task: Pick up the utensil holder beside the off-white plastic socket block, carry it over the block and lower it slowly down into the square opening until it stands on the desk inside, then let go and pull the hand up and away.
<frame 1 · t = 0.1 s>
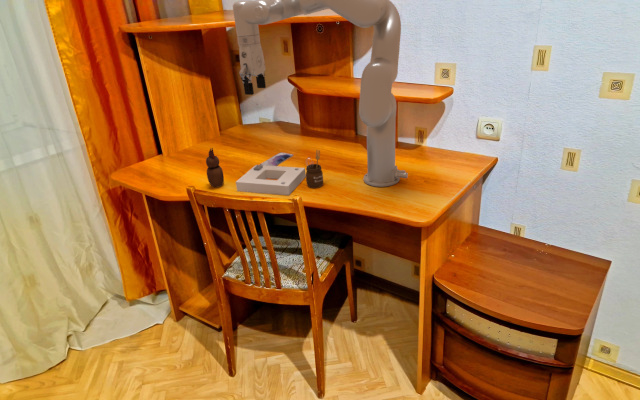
hand: (255, 91, 161), 31 cm above the table, tool pointing down, fingers open, 9 cm apart
smartphone: (277, 161, 186), on the table
socket block: (272, 183, 164), on the table
wooden figurine: (217, 185, 167), on the table
utensil holder: (315, 185, 161), on the table
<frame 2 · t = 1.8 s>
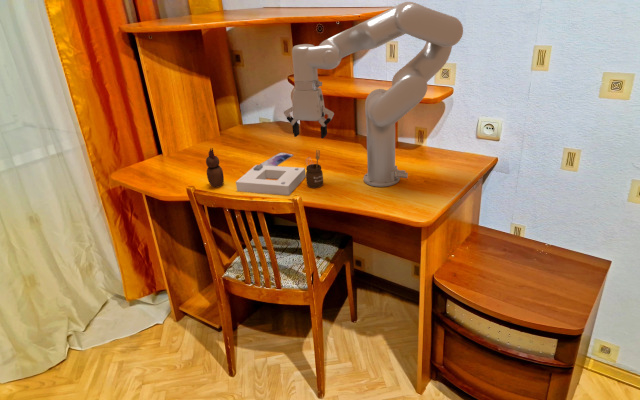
hand: (310, 136, 153), 18 cm above the table, tool pointing down, fingers open, 9 cm apart
nothing on the table moved.
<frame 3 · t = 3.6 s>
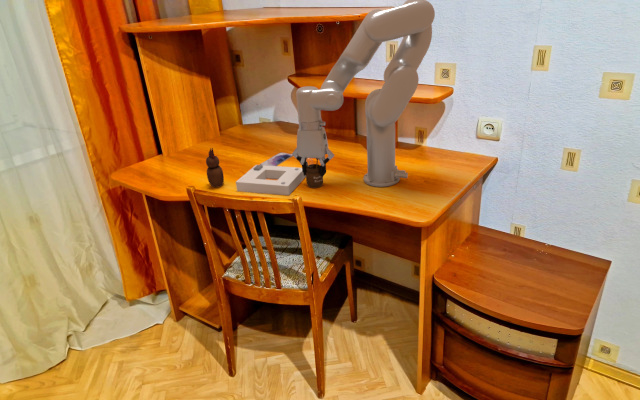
hand: (314, 174, 159), 4 cm above the table, tool pointing down, fingers closed on utensil holder, 5 cm apart
utensil holder: (315, 185, 161), on the table, touching gripper
everything else where it was.
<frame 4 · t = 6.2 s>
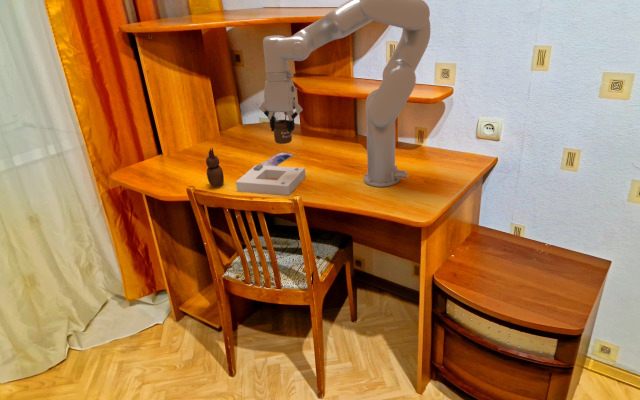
hand: (282, 130, 154), 20 cm above the table, tool pointing down, fingers closed on utensil holder, 5 cm apart
utensil holder: (283, 141, 156), point 16 cm above the table, touching gripper
everything else where it was.
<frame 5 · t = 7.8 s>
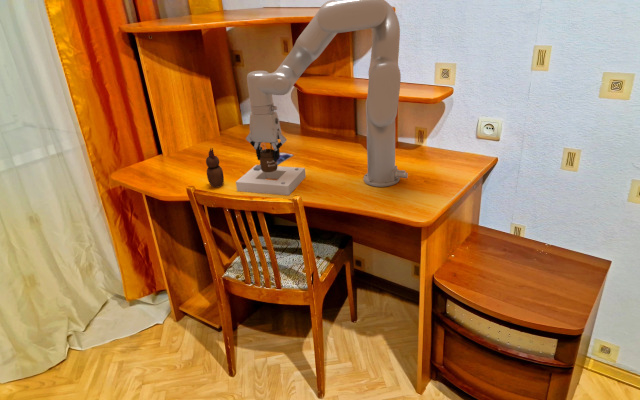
hand: (268, 159, 160), 10 cm above the table, tool pointing down, fingers closed on utensil holder, 5 cm apart
utensil holder: (269, 170, 162), point 5 cm above the table, touching gripper
everything else where it was.
when the fingers open (5 cm above the table, at t = 9.2 s): utensil holder stays where it is, resting in socket block.
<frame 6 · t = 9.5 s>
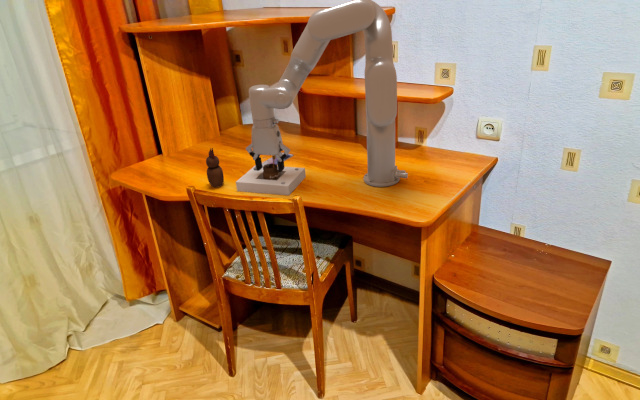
hand: (270, 169, 162), 5 cm above the table, tool pointing down, fingers open, 8 cm apart
utensil holder: (272, 184, 164), resting in socket block
everything else where it was.
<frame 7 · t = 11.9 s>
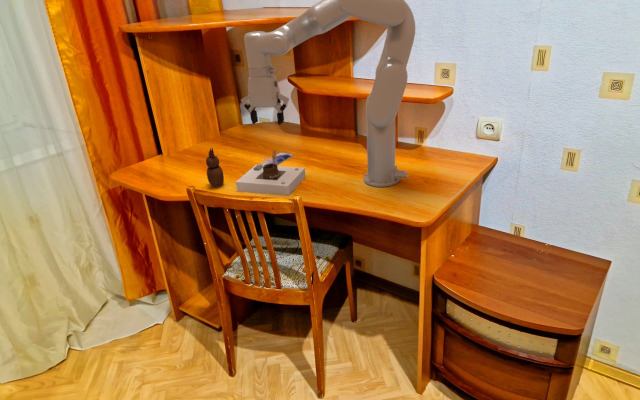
hand: (267, 123, 155), 22 cm above the table, tool pointing down, fingers open, 9 cm apart
nothing on the table moved.
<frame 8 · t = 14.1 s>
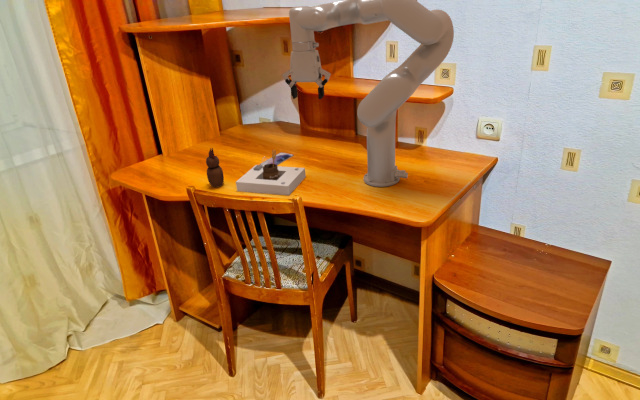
hand: (308, 98, 158), 28 cm above the table, tool pointing down, fingers open, 9 cm apart
nothing on the table moved.
at the end: utensil holder 0.2 cm off-centre on the socket block, point 0.0 cm above the socket block's base; utensil holder tilted 0°; the gripper is holding nothing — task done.
